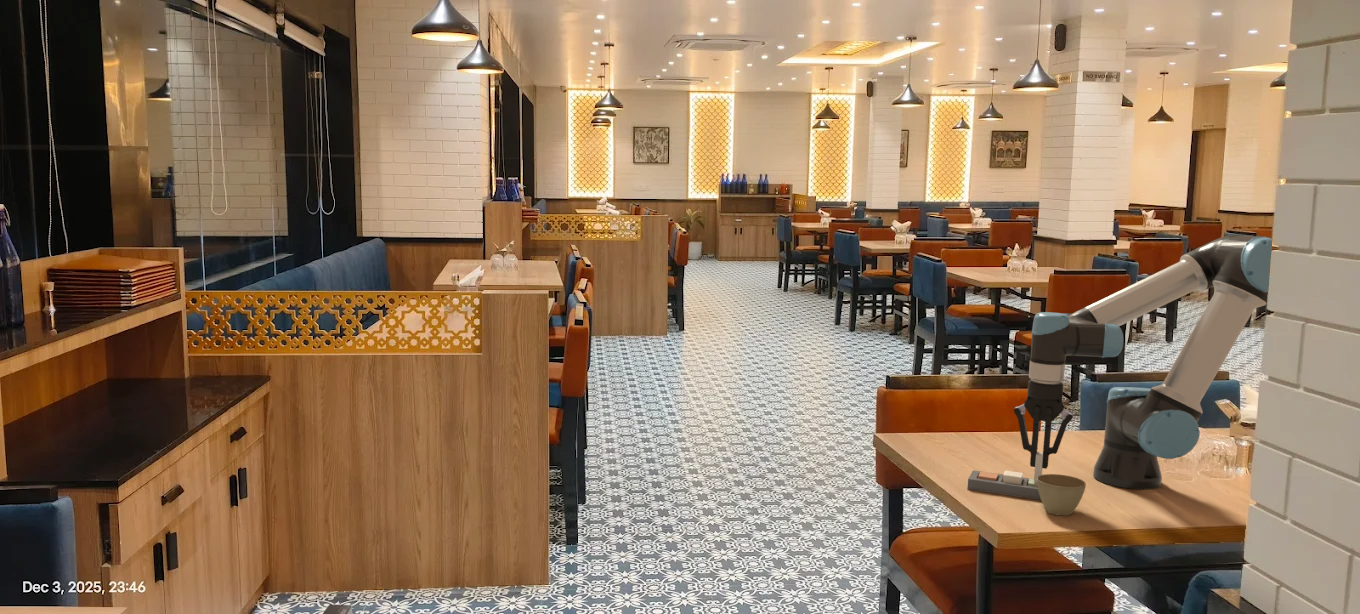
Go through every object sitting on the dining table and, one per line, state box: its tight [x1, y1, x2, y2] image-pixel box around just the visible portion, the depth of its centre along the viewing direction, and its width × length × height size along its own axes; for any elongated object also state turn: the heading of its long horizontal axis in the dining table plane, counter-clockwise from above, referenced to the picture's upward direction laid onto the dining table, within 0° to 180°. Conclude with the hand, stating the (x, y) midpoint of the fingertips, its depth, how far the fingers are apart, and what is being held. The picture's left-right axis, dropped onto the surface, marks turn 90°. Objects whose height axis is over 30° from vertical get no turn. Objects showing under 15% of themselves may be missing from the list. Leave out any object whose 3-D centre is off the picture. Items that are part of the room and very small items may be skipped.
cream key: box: [1003, 470, 1024, 485], centre depth 227 cm, size 4×4×2 cm
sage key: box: [1028, 477, 1038, 487], centre depth 224 cm, size 4×4×2 cm
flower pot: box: [1037, 473, 1087, 517], centre depth 212 cm, size 10×10×7 cm
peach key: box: [978, 471, 999, 481], centre depth 229 cm, size 4×4×2 cm
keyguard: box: [967, 469, 1042, 501], centre depth 227 cm, size 19×8×2 cm, turn 66°
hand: (1037, 480), depth 224 cm, fingers closed
